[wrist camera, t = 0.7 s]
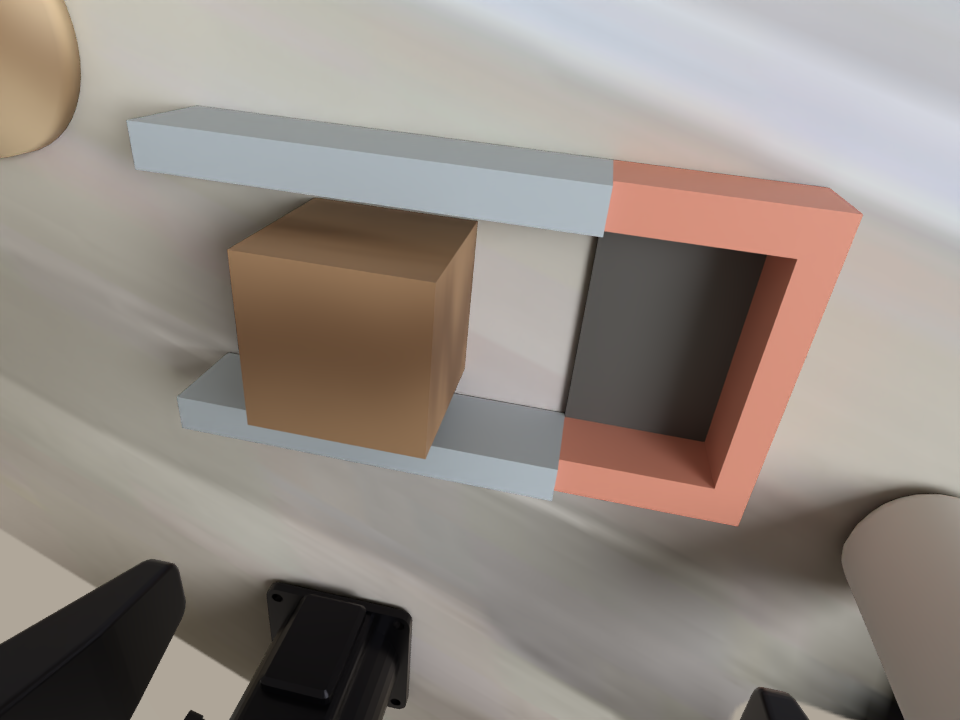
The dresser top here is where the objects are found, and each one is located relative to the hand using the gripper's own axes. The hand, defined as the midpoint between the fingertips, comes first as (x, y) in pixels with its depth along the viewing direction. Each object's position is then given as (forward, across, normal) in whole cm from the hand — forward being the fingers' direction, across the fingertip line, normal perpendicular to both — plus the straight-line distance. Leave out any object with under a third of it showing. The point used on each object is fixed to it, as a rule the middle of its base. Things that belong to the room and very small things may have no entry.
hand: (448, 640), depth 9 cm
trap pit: (+12, -4, 0) cm, 12 cm away
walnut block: (+12, +5, 0) cm, 13 cm away
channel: (+12, +5, 0) cm, 13 cm away
